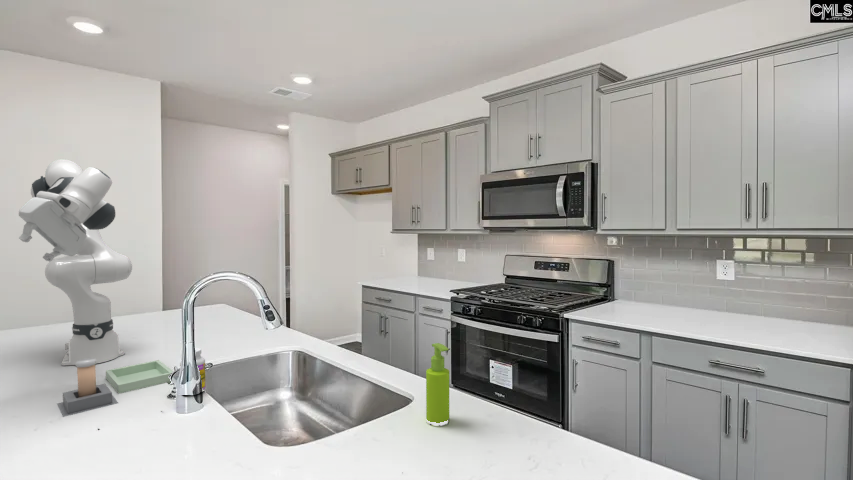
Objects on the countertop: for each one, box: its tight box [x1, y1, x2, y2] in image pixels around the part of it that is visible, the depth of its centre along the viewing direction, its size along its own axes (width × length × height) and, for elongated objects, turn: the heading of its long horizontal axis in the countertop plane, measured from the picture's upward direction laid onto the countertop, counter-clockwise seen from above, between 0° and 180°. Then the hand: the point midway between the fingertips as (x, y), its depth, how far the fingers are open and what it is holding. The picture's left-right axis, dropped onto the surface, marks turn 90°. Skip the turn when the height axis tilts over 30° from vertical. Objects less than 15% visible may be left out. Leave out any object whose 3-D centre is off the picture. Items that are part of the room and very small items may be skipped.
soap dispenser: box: [425, 342, 450, 423], centre depth 112 cm, size 6×7×20 cm
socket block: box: [56, 383, 119, 418], centre depth 123 cm, size 12×12×4 cm
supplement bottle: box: [179, 347, 207, 392], centre depth 132 cm, size 7×7×13 cm
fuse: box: [75, 358, 97, 398], centre depth 122 cm, size 4×4×12 cm
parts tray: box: [105, 359, 174, 394], centre depth 141 cm, size 18×15×4 cm
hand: (34, 250), depth 121 cm, fingers open, 8 cm apart
